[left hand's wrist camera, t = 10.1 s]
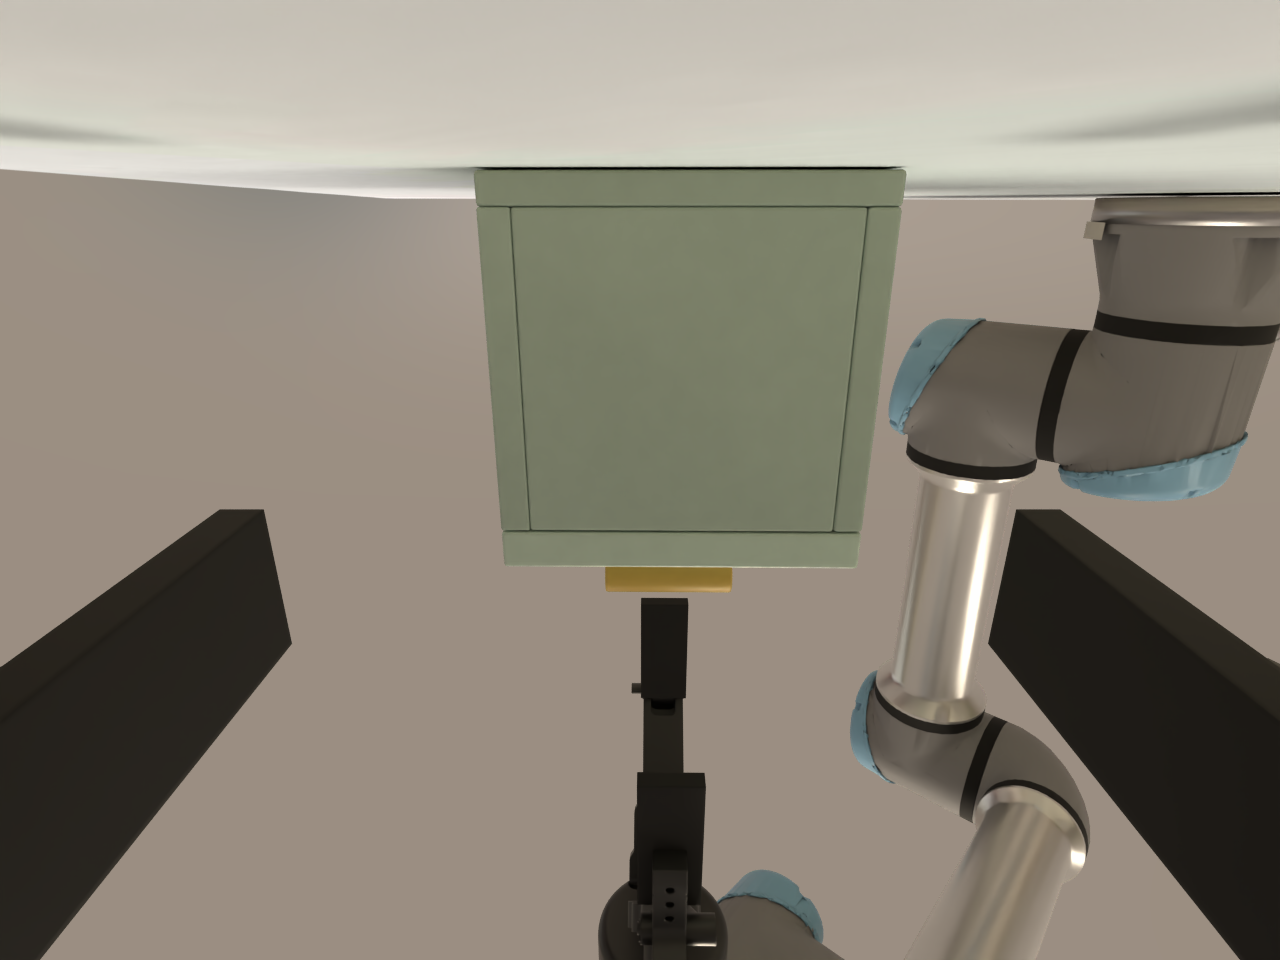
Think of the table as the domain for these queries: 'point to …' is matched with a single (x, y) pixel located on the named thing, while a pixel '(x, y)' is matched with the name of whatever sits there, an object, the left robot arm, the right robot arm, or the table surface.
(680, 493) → the chest
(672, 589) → the lid
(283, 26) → the table surface
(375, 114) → the table surface
